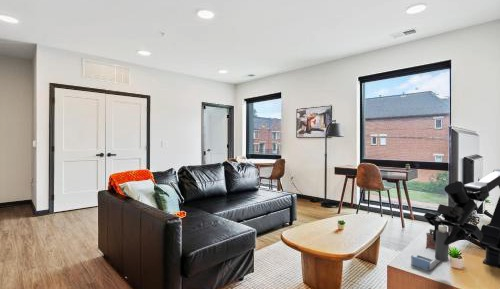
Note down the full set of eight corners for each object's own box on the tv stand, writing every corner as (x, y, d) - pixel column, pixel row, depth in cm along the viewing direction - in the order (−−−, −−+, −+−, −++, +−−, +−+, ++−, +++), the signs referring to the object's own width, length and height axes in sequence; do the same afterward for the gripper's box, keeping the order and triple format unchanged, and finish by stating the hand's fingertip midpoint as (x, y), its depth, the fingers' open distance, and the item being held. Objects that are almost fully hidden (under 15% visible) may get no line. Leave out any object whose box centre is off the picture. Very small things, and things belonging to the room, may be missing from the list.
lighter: (424, 249, 123) (425, 228, 123) (427, 247, 125) (427, 226, 125) (445, 255, 117) (446, 233, 117) (447, 253, 119) (448, 231, 119)
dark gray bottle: (437, 256, 103) (438, 223, 102) (449, 259, 99) (450, 226, 99) (433, 258, 100) (434, 225, 100) (446, 262, 97) (447, 228, 97)
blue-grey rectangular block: (427, 253, 119) (427, 245, 119) (444, 258, 114) (444, 250, 114) (411, 264, 108) (411, 256, 108) (429, 270, 103) (429, 262, 103)
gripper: (427, 192, 109) (406, 220, 106) (479, 203, 92) (455, 237, 88) (440, 209, 112) (420, 238, 109) (493, 223, 94) (470, 258, 91)
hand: (439, 242), depth 99 cm, fingers closed on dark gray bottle, 4 cm apart
